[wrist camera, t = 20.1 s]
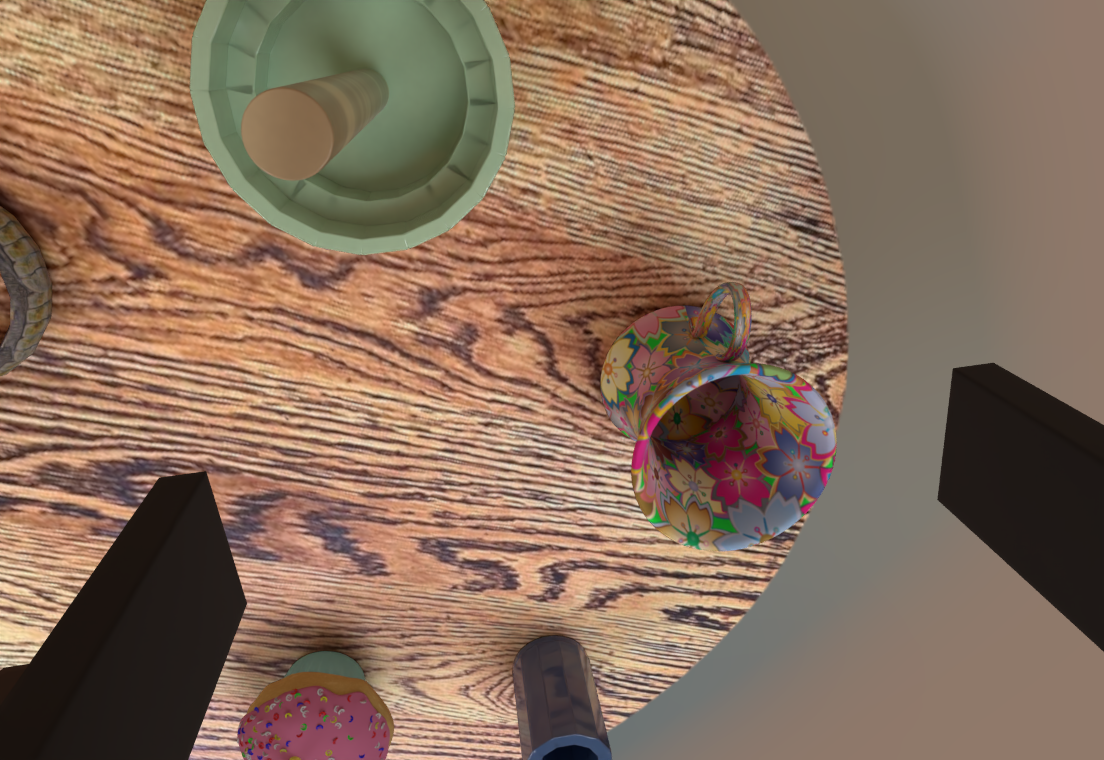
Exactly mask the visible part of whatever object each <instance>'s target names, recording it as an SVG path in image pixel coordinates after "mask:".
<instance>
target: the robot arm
mask: <svg viewBox="0 0 1104 760" xmlns="http://www.w3.org/2000/svg"><path fill="white" fill-rule="evenodd" d="M938 500H939V502H941V503H942V504H943V505H944V506H945V507H946V508H947V509H948V510H950V512H952V513H953V514H954V515H955V516H956V517H957V518H958V519H959V520H960V521H961V522H962V523H963V524H965V525H966V526H967V527H968V528H969V529H970V530H971V531H972V532H973V533H975V534H976V535H977V536H978V537H979V538H980V539H981V540H982V541H983V542H984V543H986V544H987V545H988V546H989V547H990V548H991V549H992V550H993V551H994V552H995V553H997V554H998V555H999V556H1000V557H1001V558H1002V559H1003V560H1004V561H1005V562H1006V563H1007V564H1008V565H1009V566H1011V567H1012V568H1013V569H1014V570H1015V571H1016V572H1017V573H1018V574H1019V575H1020V576H1022V577H1023V578H1024V579H1025V580H1026V581H1027V582H1028V583H1029V584H1030V585H1031V586H1033V587H1034V588H1035V589H1036V590H1037V591H1038V592H1039V593H1040V594H1041V595H1042V596H1043V597H1045V598H1046V599H1047V600H1048V601H1049V602H1050V603H1051V604H1052V605H1053V606H1054V607H1055V608H1057V609H1058V610H1059V611H1060V612H1061V613H1062V614H1063V615H1064V616H1065V617H1066V618H1067V619H1069V620H1070V621H1071V622H1072V623H1073V624H1074V625H1075V626H1076V627H1077V628H1078V629H1079V630H1081V631H1082V632H1083V633H1084V634H1085V635H1086V636H1087V637H1088V638H1089V639H1091V640H1092V641H1093V642H1094V643H1095V644H1096V645H1097V646H1098V647H1099V648H1100V649H1101V650H1103V651H1104V425H1102V424H1101V423H1099V422H1097V421H1095V420H1094V419H1092V418H1090V417H1088V416H1087V415H1085V414H1083V413H1081V412H1080V411H1078V410H1076V409H1074V408H1072V407H1071V406H1069V405H1067V404H1065V403H1064V402H1062V401H1060V400H1058V399H1057V398H1055V397H1053V396H1051V395H1049V394H1048V393H1046V392H1044V391H1042V390H1040V389H1039V388H1037V387H1035V386H1034V385H1032V384H1030V383H1028V382H1027V381H1025V380H1023V379H1021V378H1019V377H1018V376H1016V375H1014V374H1012V373H1011V372H1009V371H1007V370H1005V369H1004V368H1002V367H1000V366H998V365H996V364H995V363H988V364H981V365H974V366H967V367H959V368H953V372H952V381H951V389H950V398H949V406H948V415H947V423H946V432H945V440H944V449H943V457H942V466H941V475H940V483H939V491H938ZM246 605H247V602H246V599H245V596H244V592H243V589H242V586H241V583H240V579H239V576H238V573H237V570H236V566H235V563H234V560H233V557H232V554H231V550H230V547H229V544H228V541H227V537H226V534H225V531H224V528H223V524H222V521H221V518H220V515H219V512H218V508H217V505H216V502H215V499H214V495H213V492H212V489H211V486H210V482H209V479H208V476H207V473H206V471H205V472H197V473H190V474H183V475H176V476H168V477H161V478H159V479H158V480H157V482H156V483H155V484H154V486H153V487H152V489H151V490H150V492H149V493H148V494H147V496H146V497H145V499H144V500H143V502H142V503H141V505H140V506H139V507H138V509H137V510H136V512H135V513H134V515H133V516H132V517H131V519H130V520H129V522H128V523H127V525H126V526H125V527H124V529H123V530H122V532H121V533H120V535H119V536H118V537H117V539H116V540H115V542H114V543H113V545H112V546H111V547H110V549H109V550H108V552H107V553H106V555H105V556H104V558H103V559H102V560H101V562H100V563H99V565H98V566H97V568H96V569H95V570H94V572H93V573H92V575H91V576H90V578H89V579H88V580H87V582H86V583H85V585H84V586H83V588H82V589H81V590H80V592H79V593H78V595H77V596H76V598H75V599H74V600H73V602H72V603H71V605H70V606H69V608H68V609H67V611H66V612H65V613H64V615H63V616H62V618H61V619H60V621H59V622H58V623H57V625H56V626H55V628H54V629H53V631H52V632H51V633H50V635H49V636H48V638H47V639H46V641H45V642H44V643H43V645H42V646H41V648H40V649H39V651H38V652H37V653H36V655H35V656H34V658H33V659H32V661H31V662H30V664H25V665H19V666H12V667H6V668H3V669H2V670H1V671H0V760H188V759H189V756H190V753H191V751H192V748H193V745H194V743H195V740H196V737H197V735H198V732H199V729H200V727H201V724H202V722H203V719H204V716H205V714H206V711H207V708H208V706H209V703H210V700H211V698H212V695H213V692H214V690H215V687H216V684H217V682H218V679H219V676H220V674H221V671H222V668H223V666H224V663H225V660H226V658H227V655H228V653H229V650H230V647H231V645H232V642H233V639H234V637H235V634H236V631H237V629H238V626H239V623H240V621H241V618H242V615H243V613H244V610H245V607H246Z"/></svg>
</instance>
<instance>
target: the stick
mask: <svg viewBox="0 0 1104 760" xmlns="http://www.w3.org/2000/svg"><path fill="white" fill-rule="evenodd" d="M388 99H389V88H388V85H387V82H386V81H385V79H384V78H383V77H382V76H381V75H380V74H379V73H378V72H376V71H374V70H372V69H366V68H364V69H358V70H353V71H349V72H344V73H340V74H335V75H331V76H326V77H322V78H317V79H313V80H308V81H304V82H299V83H294V84H290V85H285V86H281V87H276V88H272V89H269V90H266V91H264V92H262V93H260V94H258V95H257V96H256V97H255V98H254V99H252V100H251V102H250V103H249V104H248V106H247V107H246V109H245V111H244V114H243V117H242V122H241V135H242V141H243V144H244V147H245V149H246V151H247V153H248V155H249V156H250V158H251V159H252V160H253V162H254V163H255V164H256V165H257V166H258V167H259V168H260V169H262V170H263V171H264V172H266V173H267V174H269V175H271V176H273V177H276V178H279V179H283V180H290V181H296V180H303V179H306V178H309V177H311V176H313V175H315V174H316V173H318V172H319V171H320V170H321V169H323V168H324V167H325V166H326V165H327V164H328V163H329V162H330V161H331V160H332V159H333V158H334V157H335V156H336V155H337V154H338V153H339V152H340V151H341V150H342V149H343V148H344V147H345V146H346V145H347V144H348V143H349V142H350V141H351V140H352V139H353V138H354V137H355V136H356V135H357V134H358V133H359V132H360V131H361V130H362V129H363V128H364V127H365V126H366V125H367V124H368V123H369V122H370V121H371V120H373V119H374V118H375V117H376V116H377V115H378V114H379V113H380V112H381V111H382V110H383V109H384V107H385V106H386V105H387V102H388Z"/></svg>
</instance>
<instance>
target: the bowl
mask: <svg viewBox="0 0 1104 760" xmlns="http://www.w3.org/2000/svg"><path fill="white" fill-rule="evenodd" d="M364 68H366V69H372V70H374V71H376V72H378V73H379V74H380V75H381V76H382V77H383V78H384V79H385V81H386V82H387V85H388V88H389V99H388V102H387V105H386V106H385V107H384V109H383V110H382V111H381V112H380V113H379V114H378V115H377V116H376V117H375V118H374V119H373V120H371V121H370V122H369V123H368V124H367V125H366V126H365V127H364V128H363V129H362V130H361V131H360V132H359V133H358V134H357V135H356V136H355V137H354V138H353V139H352V140H351V141H350V142H349V143H348V144H347V145H346V146H345V147H344V148H343V149H342V150H341V151H340V152H339V153H338V154H337V155H336V156H335V157H334V158H333V159H332V160H331V161H330V162H329V163H328V164H327V165H326V166H325V167H324V168H323V169H321V170H320V171H319V172H318V173H316V174H315V175H313V176H311V177H309V178H306V179H303V180H296V181H290V180H283V179H279V178H276V177H273V176H271V175H269V174H267V173H266V172H264V171H263V170H262V169H260V168H259V167H258V166H257V165H256V164H255V163H254V162H253V160H252V159H251V158H250V156H249V155H248V153H247V151H246V149H245V147H244V144H243V141H242V135H241V122H242V117H243V114H244V111H245V109H246V107H247V106H248V104H249V103H250V102H251V100H252V99H254V98H255V97H256V96H257V95H258V94H260V93H262V92H264V91H266V90H269V89H272V88H276V87H281V86H285V85H290V84H294V83H299V82H304V81H308V80H313V79H317V78H322V77H326V76H331V75H335V74H340V73H344V72H349V71H353V70H358V69H364ZM190 94H191V98H192V101H193V105H194V109H195V113H196V116H197V120H198V124H199V128H200V131H201V135H202V139H203V142H204V144H205V146H206V148H207V149H208V151H209V153H210V154H211V156H212V158H213V159H214V161H215V162H216V164H217V166H218V167H219V169H220V171H221V172H222V174H223V176H224V177H225V179H226V180H227V182H228V184H229V185H230V187H231V188H233V191H234V192H236V193H237V194H238V195H239V196H240V197H241V198H242V199H243V200H244V201H245V202H246V203H247V204H249V205H250V206H251V207H252V208H253V209H254V210H255V211H256V212H257V213H258V214H259V215H261V216H262V217H263V218H264V219H265V220H266V221H267V222H268V223H270V224H271V225H272V226H274V227H276V228H278V229H280V230H282V231H284V232H286V233H288V234H290V235H292V236H294V237H296V238H298V239H300V240H302V241H304V242H306V243H308V244H310V245H312V246H316V247H319V248H324V249H330V250H335V251H341V252H347V253H352V254H358V255H362V254H363V255H369V254H377V253H385V252H393V251H401V250H407V249H408V248H409V249H411V248H413V247H415V246H417V245H419V244H421V243H424V242H426V241H428V240H430V239H432V238H434V237H436V236H439V235H441V234H443V233H445V232H447V231H449V229H452V228H453V227H454V226H455V225H456V224H457V223H458V222H459V221H460V220H461V219H462V218H463V217H464V216H465V215H467V214H468V213H469V212H470V211H471V210H472V209H473V208H474V207H475V206H476V205H477V204H478V203H479V202H480V201H481V200H482V199H483V197H484V196H485V195H486V193H487V191H488V189H489V187H490V185H491V184H492V182H493V180H494V178H495V176H496V174H497V172H498V171H499V169H500V167H501V165H502V163H503V161H504V160H505V156H506V154H507V149H508V143H509V138H510V133H511V128H512V122H513V117H514V112H515V109H514V108H515V101H514V92H513V82H512V73H511V64H510V57H509V53H508V51H507V49H506V46H505V44H504V42H503V39H502V37H501V34H500V32H499V30H498V27H497V25H496V23H495V20H494V18H493V15H492V13H491V11H490V8H489V7H488V6H487V3H486V2H485V1H484V0H206V2H205V5H204V7H203V10H202V12H201V15H200V17H199V20H198V22H197V25H196V27H195V30H194V32H193V36H192V48H191V70H190Z"/></svg>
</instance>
